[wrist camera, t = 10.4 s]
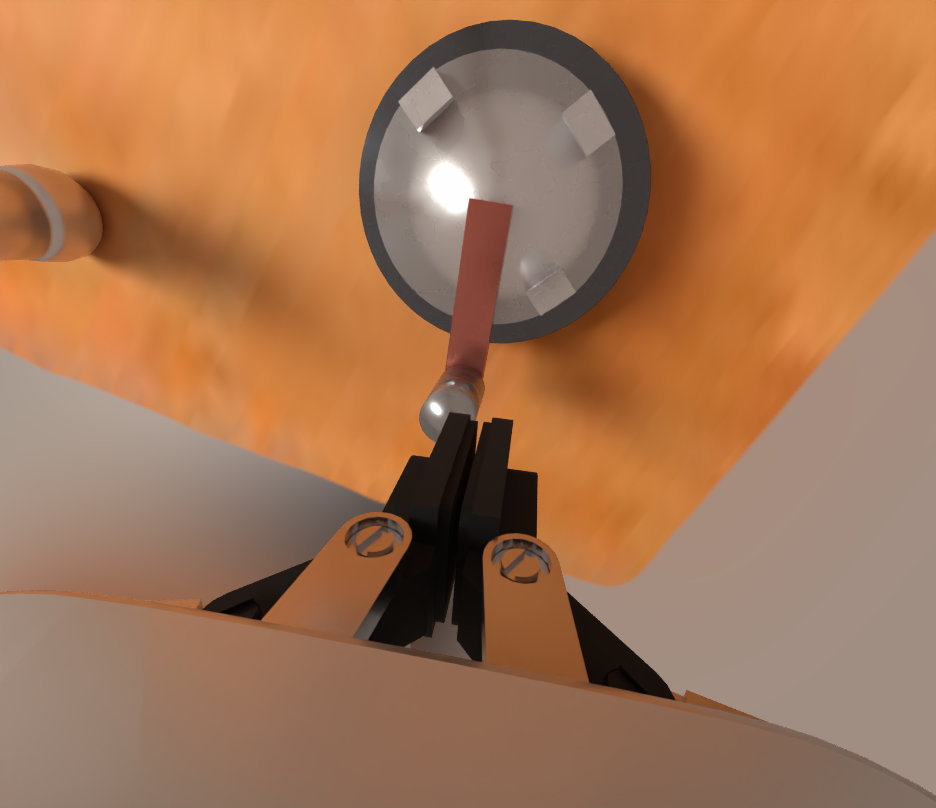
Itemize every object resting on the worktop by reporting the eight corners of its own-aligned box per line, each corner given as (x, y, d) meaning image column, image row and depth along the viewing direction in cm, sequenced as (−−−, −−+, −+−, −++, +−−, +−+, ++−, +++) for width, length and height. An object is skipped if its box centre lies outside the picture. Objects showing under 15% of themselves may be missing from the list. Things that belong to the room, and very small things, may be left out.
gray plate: (389, 15, 27) (372, -7, 24) (684, 68, 26) (701, 51, 23) (364, 304, 35) (349, 312, 32) (592, 355, 34) (597, 368, 31)
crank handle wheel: (648, 82, 24) (699, 20, 16) (560, 412, 32) (565, 478, 24) (396, 47, 25) (329, -28, 17) (374, 375, 33) (322, 426, 25)
